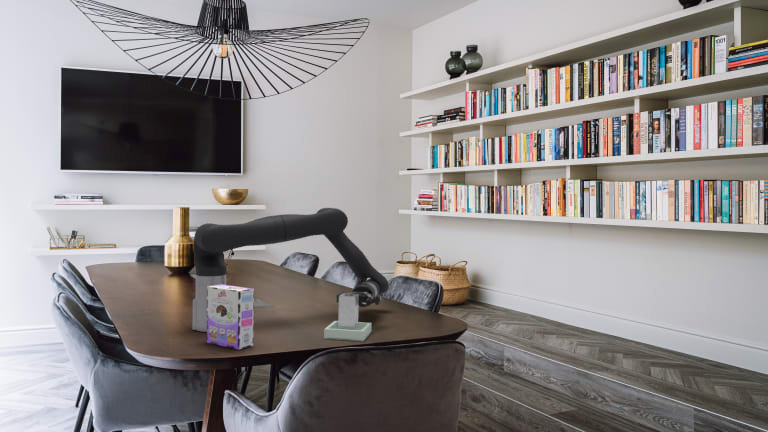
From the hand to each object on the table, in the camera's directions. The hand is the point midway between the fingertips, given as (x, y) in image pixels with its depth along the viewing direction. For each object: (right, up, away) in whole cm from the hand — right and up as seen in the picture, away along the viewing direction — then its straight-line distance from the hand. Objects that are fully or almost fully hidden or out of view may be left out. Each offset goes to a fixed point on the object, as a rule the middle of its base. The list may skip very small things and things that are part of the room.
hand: (354, 302), depth 182 cm
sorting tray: (-1, -9, -6) cm, 11 cm away
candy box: (-34, -9, -20) cm, 41 cm away
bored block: (-2, -9, -6) cm, 11 cm away
